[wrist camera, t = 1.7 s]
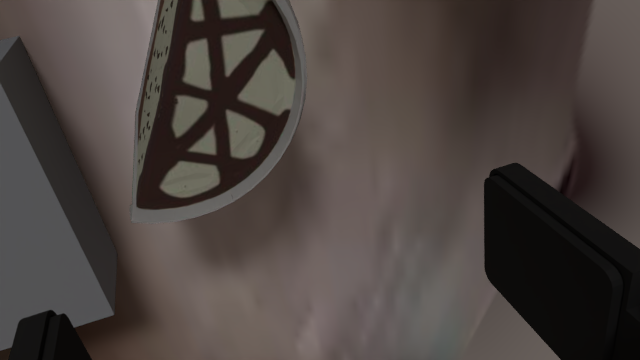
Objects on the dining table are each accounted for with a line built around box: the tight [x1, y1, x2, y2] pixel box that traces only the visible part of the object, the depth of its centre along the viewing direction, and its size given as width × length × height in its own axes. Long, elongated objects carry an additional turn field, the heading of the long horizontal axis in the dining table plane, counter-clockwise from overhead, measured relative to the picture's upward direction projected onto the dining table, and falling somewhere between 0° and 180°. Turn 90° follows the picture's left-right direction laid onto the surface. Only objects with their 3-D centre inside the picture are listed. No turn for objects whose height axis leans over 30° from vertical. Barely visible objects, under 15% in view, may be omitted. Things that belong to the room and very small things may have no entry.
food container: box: [130, 0, 307, 224], centre depth 25 cm, size 12×6×10 cm, turn 161°
